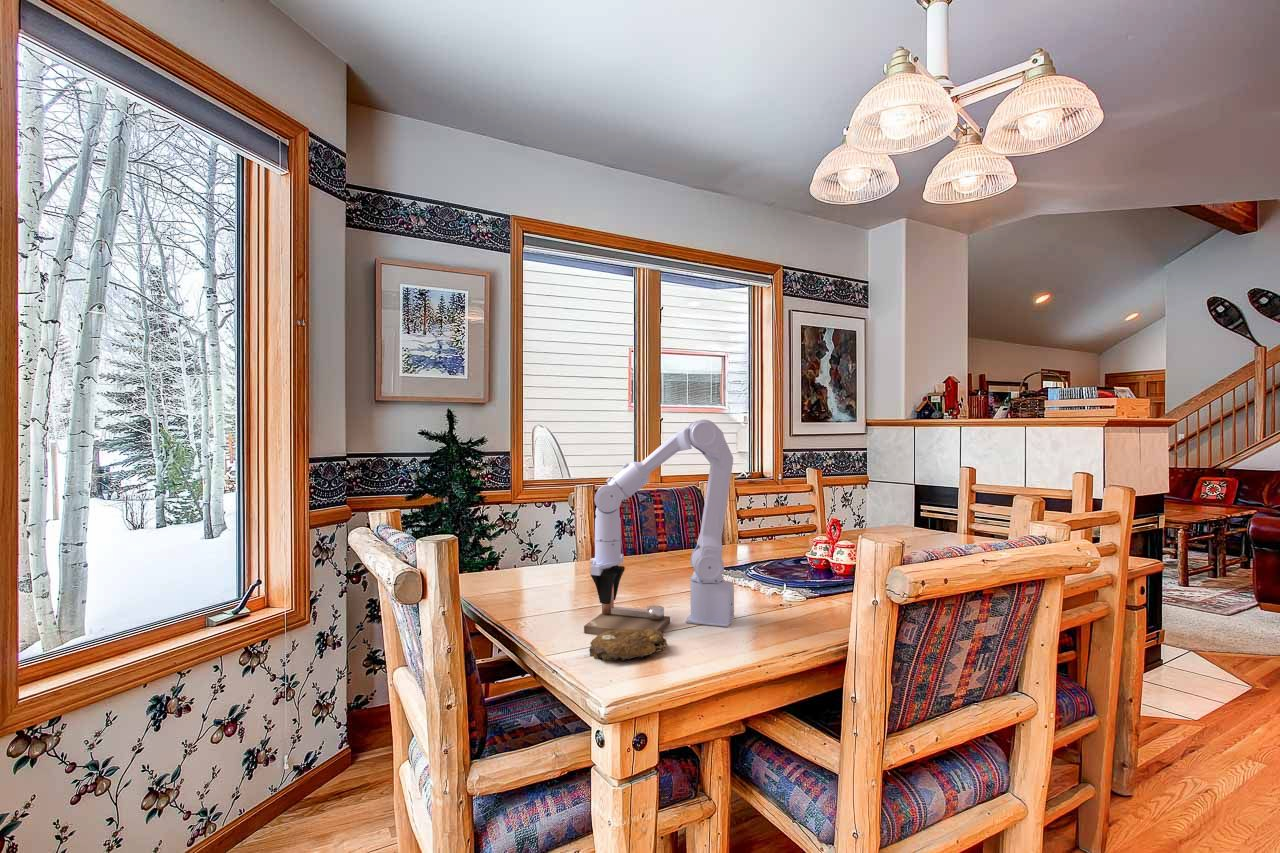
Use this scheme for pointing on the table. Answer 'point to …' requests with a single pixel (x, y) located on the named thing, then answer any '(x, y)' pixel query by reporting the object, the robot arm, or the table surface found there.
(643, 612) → the lever
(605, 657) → the decorative rock
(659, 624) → the board
